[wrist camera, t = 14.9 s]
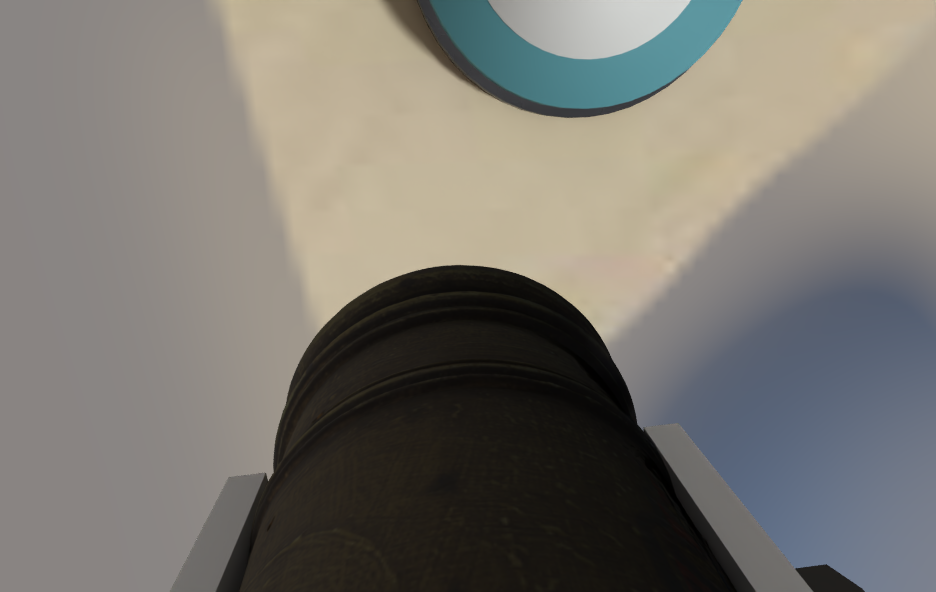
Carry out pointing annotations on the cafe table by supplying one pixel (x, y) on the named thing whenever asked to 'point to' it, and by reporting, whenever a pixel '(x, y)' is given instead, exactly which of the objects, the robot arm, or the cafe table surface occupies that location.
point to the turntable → (583, 44)
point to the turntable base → (503, 94)
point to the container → (468, 454)
